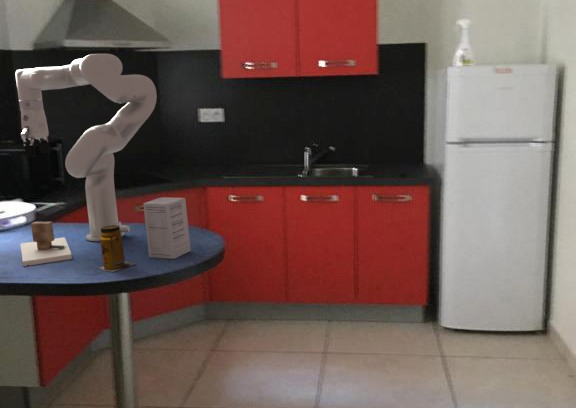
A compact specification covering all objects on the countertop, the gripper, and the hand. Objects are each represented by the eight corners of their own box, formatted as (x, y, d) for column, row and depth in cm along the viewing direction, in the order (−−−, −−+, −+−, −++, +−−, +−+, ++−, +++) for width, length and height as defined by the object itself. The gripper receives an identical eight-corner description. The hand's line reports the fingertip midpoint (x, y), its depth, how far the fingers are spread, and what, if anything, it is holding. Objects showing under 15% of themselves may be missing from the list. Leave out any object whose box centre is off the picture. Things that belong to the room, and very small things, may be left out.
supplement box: (191, 251, 204) (187, 197, 200) (174, 259, 196) (168, 204, 192) (166, 249, 208) (161, 196, 204) (147, 257, 200) (142, 202, 196)
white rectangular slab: (20, 247, 219) (20, 242, 219) (65, 241, 224) (64, 236, 224) (23, 266, 197) (22, 260, 197) (72, 258, 202) (71, 253, 202)
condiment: (97, 268, 191) (92, 228, 189) (121, 261, 197) (117, 221, 195) (112, 272, 186) (107, 231, 184) (137, 264, 193) (132, 224, 190)
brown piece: (32, 249, 209) (28, 224, 207) (40, 245, 213) (37, 220, 211) (59, 250, 206) (56, 224, 205) (67, 246, 211) (64, 221, 209)
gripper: (29, 106, 218) (36, 158, 222) (53, 103, 235) (59, 151, 239) (7, 107, 219) (14, 159, 223) (33, 104, 236) (39, 152, 240)
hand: (37, 155), depth 231 cm, fingers open, 9 cm apart
